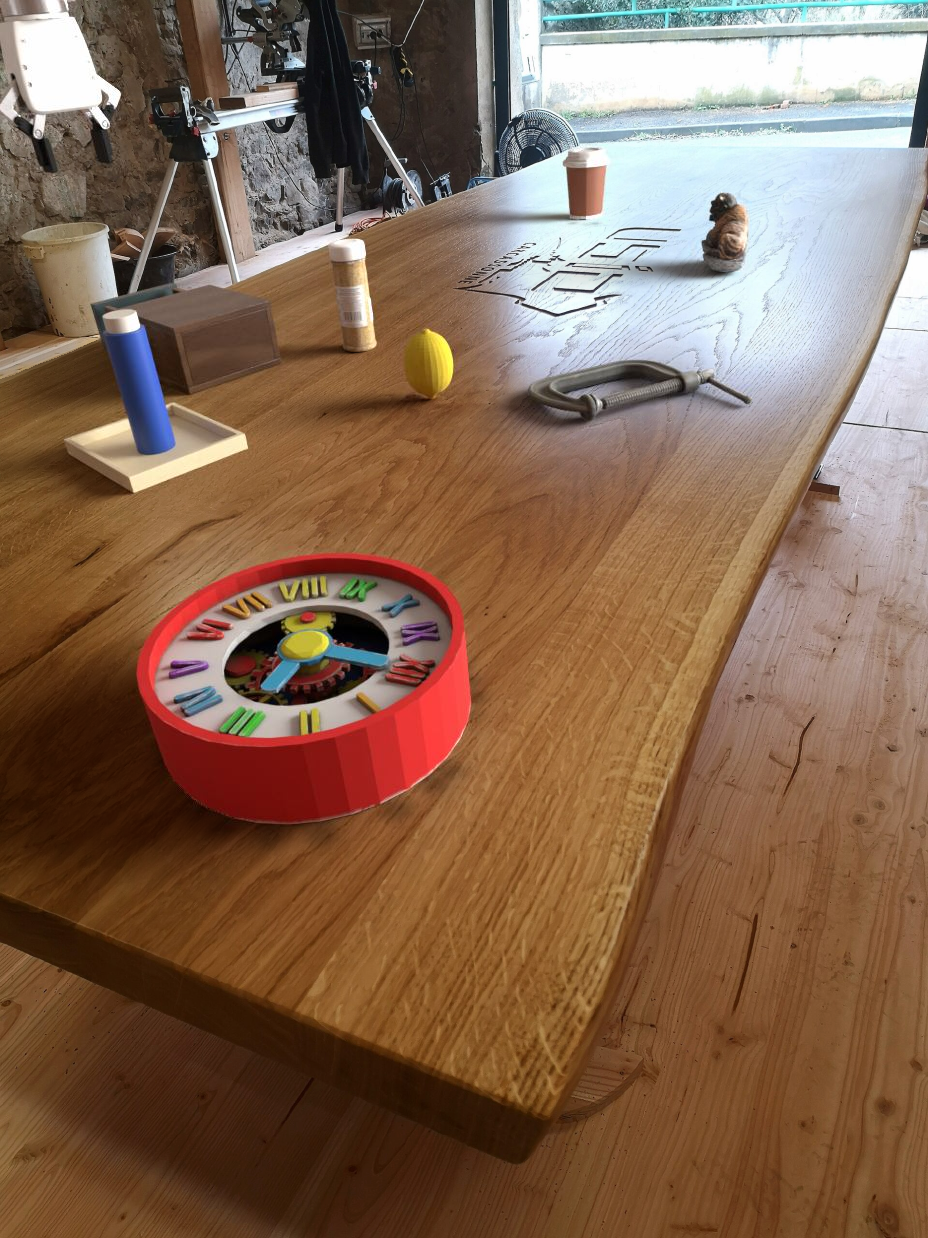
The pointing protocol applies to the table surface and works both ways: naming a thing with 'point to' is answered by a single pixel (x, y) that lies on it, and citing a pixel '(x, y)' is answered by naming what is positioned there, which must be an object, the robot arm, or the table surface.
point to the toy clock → (307, 686)
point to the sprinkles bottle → (352, 294)
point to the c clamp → (589, 405)
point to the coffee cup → (586, 181)
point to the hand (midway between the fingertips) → (78, 166)
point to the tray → (135, 471)
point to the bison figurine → (726, 235)
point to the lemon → (428, 363)
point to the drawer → (128, 303)
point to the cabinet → (208, 336)
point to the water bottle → (138, 382)
